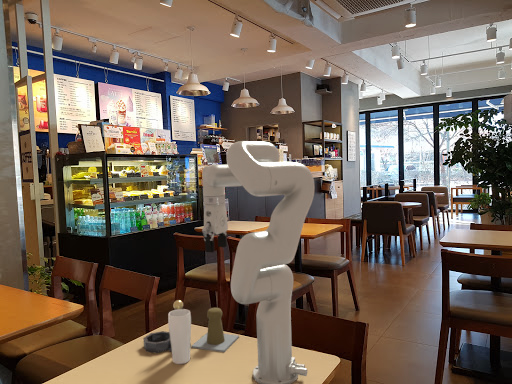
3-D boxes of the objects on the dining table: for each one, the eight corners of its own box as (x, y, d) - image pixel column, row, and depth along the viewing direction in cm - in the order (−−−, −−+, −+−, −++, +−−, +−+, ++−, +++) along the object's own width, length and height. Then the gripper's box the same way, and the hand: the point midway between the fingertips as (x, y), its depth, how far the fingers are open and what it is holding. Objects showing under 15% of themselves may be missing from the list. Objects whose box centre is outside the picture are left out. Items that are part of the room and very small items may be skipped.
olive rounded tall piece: (228, 340, 133) (227, 308, 132) (214, 346, 128) (213, 313, 128) (217, 335, 137) (215, 304, 136) (203, 341, 133) (201, 309, 132)
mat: (239, 337, 136) (239, 335, 136) (224, 352, 125) (224, 350, 125) (208, 333, 141) (208, 331, 141) (191, 347, 129) (191, 345, 129)
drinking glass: (187, 366, 116) (185, 317, 116) (166, 365, 118) (164, 316, 117) (195, 356, 123) (193, 309, 122) (175, 355, 124) (173, 308, 124)
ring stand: (194, 343, 132) (192, 296, 131) (178, 356, 123) (176, 305, 122) (155, 338, 138) (153, 293, 137) (138, 350, 129) (136, 301, 128)
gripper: (212, 203, 129) (214, 254, 129) (234, 199, 145) (235, 245, 145) (192, 203, 131) (194, 253, 132) (215, 199, 147) (217, 244, 148)
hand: (216, 249), depth 139 cm, fingers open, 9 cm apart
